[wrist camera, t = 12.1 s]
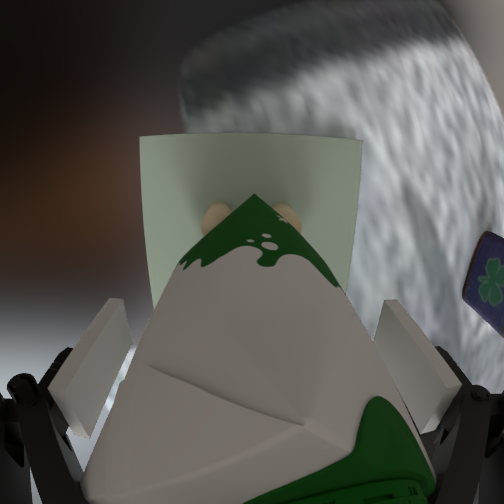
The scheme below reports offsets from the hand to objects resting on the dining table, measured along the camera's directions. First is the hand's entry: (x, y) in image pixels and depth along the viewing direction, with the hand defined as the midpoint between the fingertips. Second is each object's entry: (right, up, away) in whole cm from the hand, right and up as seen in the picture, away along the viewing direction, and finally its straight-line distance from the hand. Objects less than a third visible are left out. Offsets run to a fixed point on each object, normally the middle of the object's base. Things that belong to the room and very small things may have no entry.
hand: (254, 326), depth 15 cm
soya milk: (0, +3, +8) cm, 8 cm away
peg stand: (0, +5, +12) cm, 13 cm away
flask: (+27, +2, +15) cm, 30 cm away
